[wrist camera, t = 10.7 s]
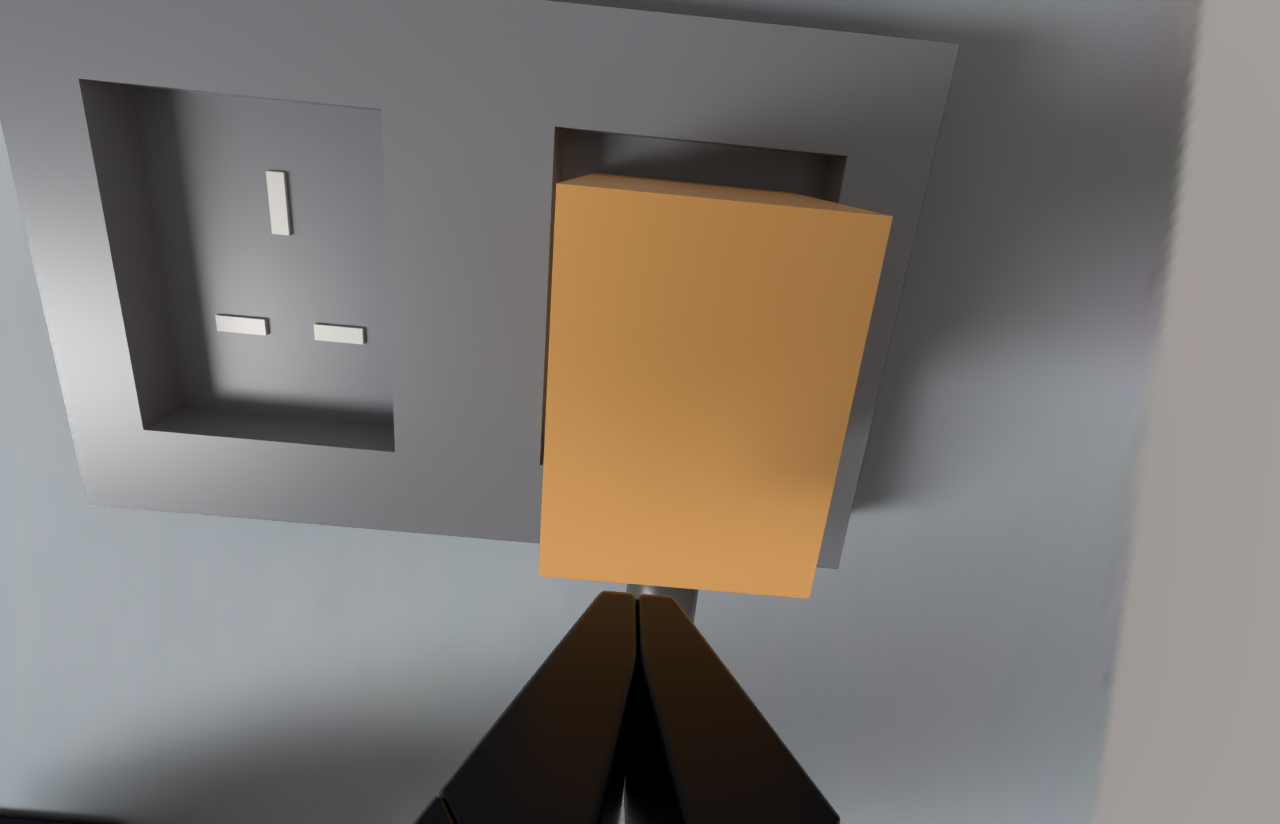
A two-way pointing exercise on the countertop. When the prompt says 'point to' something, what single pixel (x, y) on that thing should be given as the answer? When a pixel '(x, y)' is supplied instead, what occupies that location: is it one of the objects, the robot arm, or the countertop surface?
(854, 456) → the socket plate
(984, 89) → the countertop surface
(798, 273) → the plug
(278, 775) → the countertop surface
